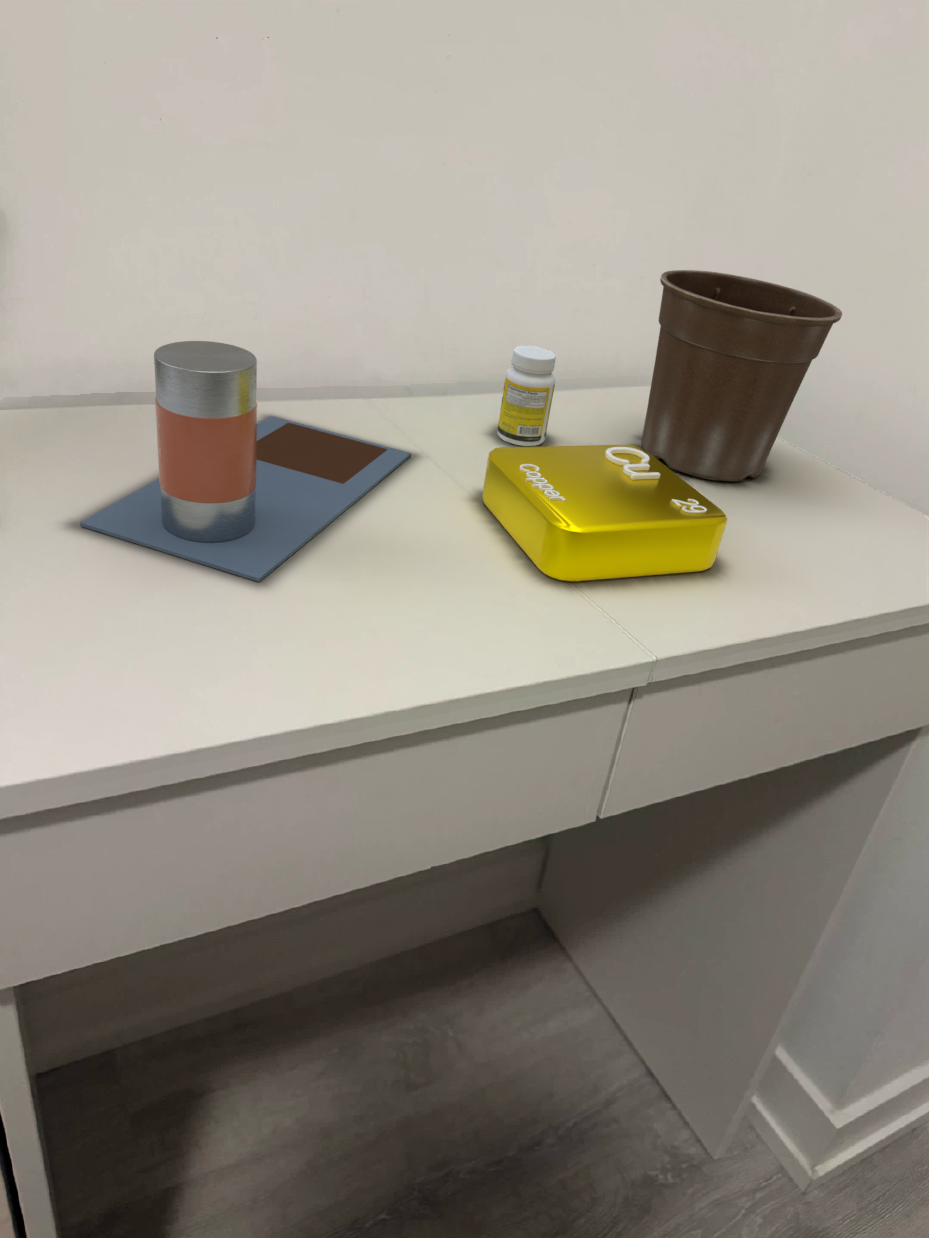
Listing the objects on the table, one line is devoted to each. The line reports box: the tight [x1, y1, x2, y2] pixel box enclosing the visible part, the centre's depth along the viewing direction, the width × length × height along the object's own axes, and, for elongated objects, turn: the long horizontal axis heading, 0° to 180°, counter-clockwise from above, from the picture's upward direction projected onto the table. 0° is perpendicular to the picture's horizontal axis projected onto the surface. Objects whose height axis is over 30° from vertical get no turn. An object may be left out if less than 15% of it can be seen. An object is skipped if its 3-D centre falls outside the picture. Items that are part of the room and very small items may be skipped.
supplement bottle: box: [496, 345, 557, 447], centre depth 86 cm, size 5×5×8 cm
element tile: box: [481, 444, 729, 582], centre depth 72 cm, size 15×15×5 cm
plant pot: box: [640, 269, 843, 482], centre depth 86 cm, size 16×16×16 cm
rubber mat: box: [79, 415, 412, 583], centre depth 72 cm, size 14×26×1 cm, turn 160°
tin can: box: [153, 340, 258, 542], centre depth 62 cm, size 6×6×12 cm
